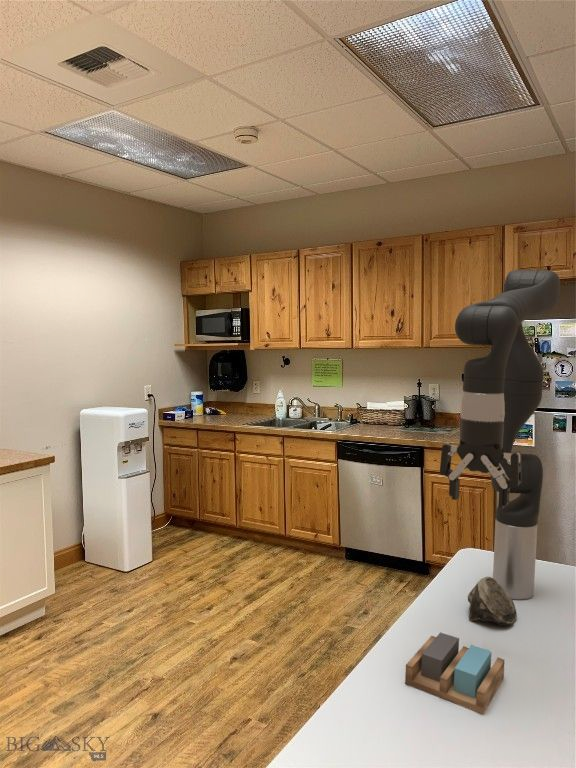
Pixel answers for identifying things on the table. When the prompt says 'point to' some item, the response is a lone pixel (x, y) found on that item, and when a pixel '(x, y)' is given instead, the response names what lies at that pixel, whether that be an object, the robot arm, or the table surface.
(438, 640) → the dark gray block
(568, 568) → the table surface
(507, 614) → the brown rock
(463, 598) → the table surface
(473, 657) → the tall teal pillar
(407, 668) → the block
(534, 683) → the table surface
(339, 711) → the table surface
